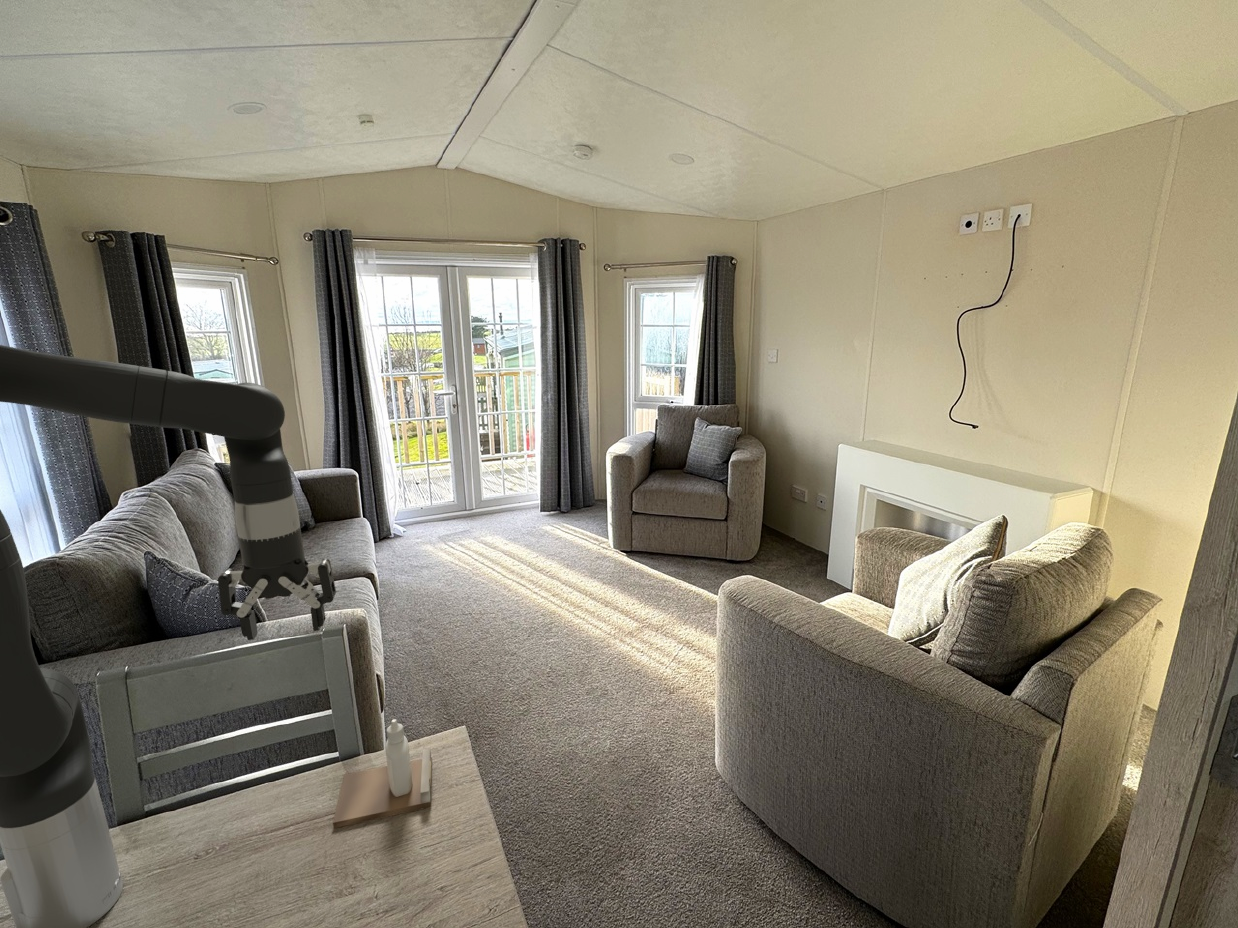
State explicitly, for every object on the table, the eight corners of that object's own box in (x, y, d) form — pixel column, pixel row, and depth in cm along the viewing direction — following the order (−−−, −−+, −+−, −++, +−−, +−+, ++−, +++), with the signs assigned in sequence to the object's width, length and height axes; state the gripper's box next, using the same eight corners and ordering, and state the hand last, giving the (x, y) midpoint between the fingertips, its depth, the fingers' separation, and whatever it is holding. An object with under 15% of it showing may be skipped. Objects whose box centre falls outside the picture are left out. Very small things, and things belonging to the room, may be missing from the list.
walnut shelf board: (333, 828, 89) (331, 811, 88) (344, 779, 98) (342, 764, 97) (431, 806, 92) (429, 790, 92) (432, 761, 102) (431, 747, 101)
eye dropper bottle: (380, 797, 93) (372, 732, 90) (395, 770, 98) (388, 708, 95) (407, 798, 93) (399, 733, 90) (421, 772, 98) (414, 709, 95)
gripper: (330, 514, 87) (342, 614, 91) (220, 524, 84) (238, 627, 87) (320, 531, 80) (334, 638, 84) (200, 542, 77) (220, 654, 80)
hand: (285, 632), depth 86 cm, fingers open, 8 cm apart
